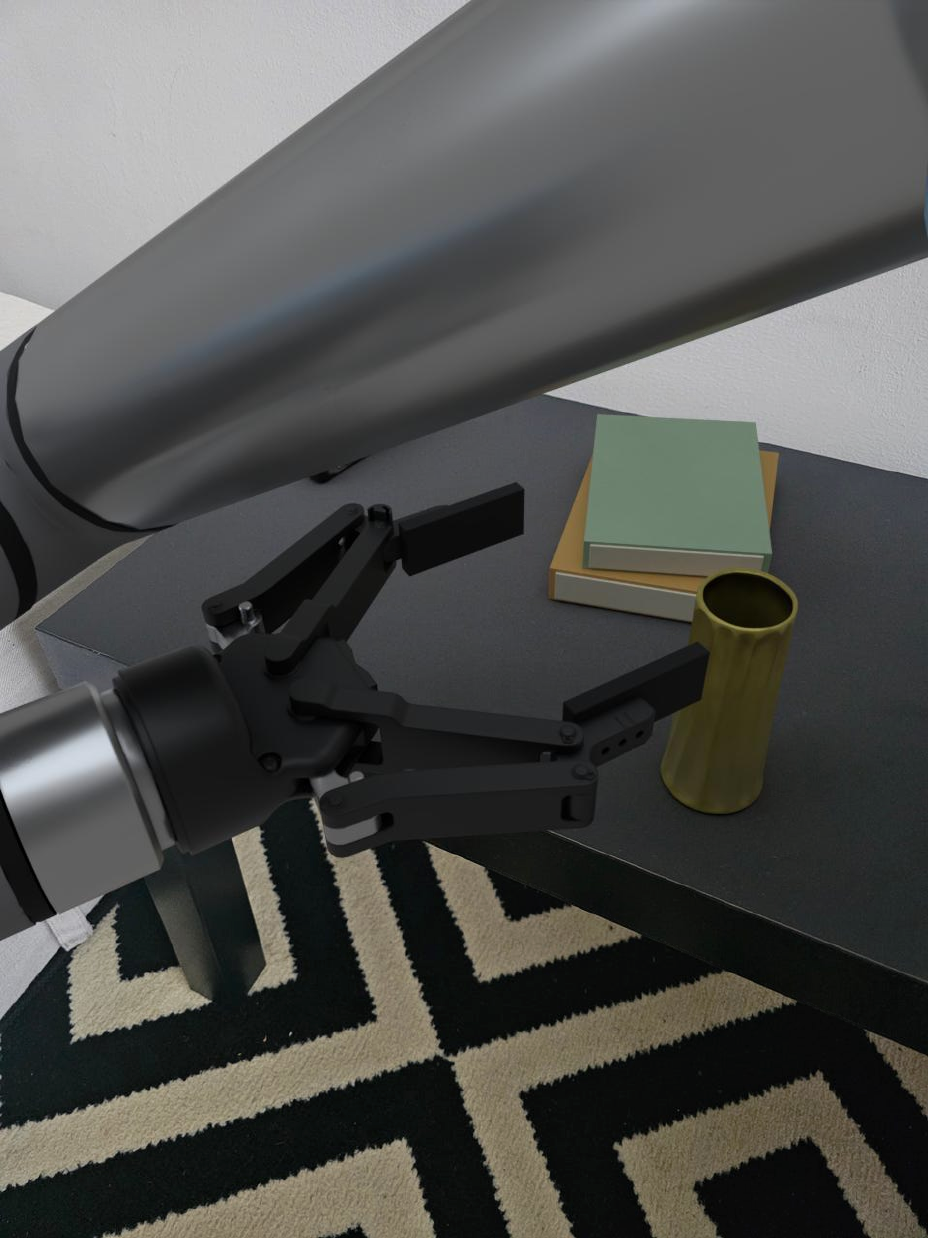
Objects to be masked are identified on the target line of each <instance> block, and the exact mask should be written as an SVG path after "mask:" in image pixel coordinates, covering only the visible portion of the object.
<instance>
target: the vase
mask: <svg viewBox="0 0 928 1238" xmlns="http://www.w3.org/2000/svg"><path fill="white" fill-rule="evenodd" d="M798 611H799V600H798V598H797V596H796V594H795V592H794V591H793V590H792V589H791V588H790V587H789V586H788V585H787V584H786V583H784V582H783V581H782V580H781V579H779V578H777V577H776V576H774V575H772V574H770V573H769V572H768V573H765V572H762V571H758V570H753V569H745V568H730V569H724V570H720V571H717V572H715V573H713V574H711V575H710V576H708V577H707V578H706V579H704V580H703V581H702V582H701V583H700V585H699V587H698V589H697V595H696V599H695V605H694V613H693V620H692V623H691V625H690V632H689V638H688V643H687V644H688V645H690V644H693V643H695V642H697V641H698V642H699V643H700V644H701V645H703V646H704V647H705V648H706V649H707V650H708V651H709V652H710V655H709V661H708V666H707V671H706V677H705V682H704V688H703V693H702V698H701V700H700V701H698V702H696V703H694V704H692V705H689V706H687V707H685V708H683V709H681V710H679V711H677V712H675V713H673V714H672V717H671V723H670V729H669V734H668V737H667V742H666V748H665V751H664V754H663V757H662V759H661V764H660V774H661V778H662V781H663V783H664V785H665V786H666V788H667V790H668V791H669V792H670V794H671V795H672V796H673V797H674V798H675V799H676V800H677V801H679V803H681V804H683V805H684V806H686V807H689V808H691V810H692V809H693V810H695V811H698V812H701V813H705V814H710V815H728V814H732V813H736V812H737V813H738V812H739V811H742V810H744V809H746V808H748V807H749V806H751V805H752V804H754V802H755V801H756V800H757V799H758V797H759V795H760V794H761V791H762V788H763V784H764V779H763V778H764V770H765V766H766V761H767V755H768V750H769V743H770V737H771V731H772V725H773V720H774V715H775V711H776V707H777V702H778V698H779V693H780V690H781V684H782V680H783V676H784V672H785V668H786V663H787V658H788V654H789V651H790V646H791V642H792V637H793V632H794V626H795V622H796V621H797V620H796V619H797V616H798V615H797V614H798ZM688 645H687V646H688Z"/></svg>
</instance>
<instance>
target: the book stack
mask: <svg viewBox="0 0 928 1238" xmlns="http://www.w3.org/2000/svg"><path fill="white" fill-rule="evenodd" d="M756 423H757V422H755V421H741V420H720V419H699V418H684V417H683V418H682V417H681V418H680V417H662V416H641V415H625V414H624V415H622V414H620V415H619V414H602V413H597V414H596V422H595V432H594V442H593V448H592V449H593V451H592V455H591V457H590V460H589V462H588V466H587V468H586V471H585V474H584V476H583V478H582V482H581V484H580V486H579V489H578V491H577V495H576V497H575V500H574V502H573V504H572V508H571V510H570V513H569V516H568V518H567V520H566V523H565V526H564V529H563V531H562V534H561V537H560V539H559V542H558V545H557V547H556V550H555V552H554V555H553V558H552V560H551V563H550V566H549V569H548V570H549V571H548V572H549V573H548V574H549V575H548V599H549V600H552V601H553V600H554V601H559V602H565V603H570V604H576V605H584V606H589V607H595V608H599V609H601V608H602V609H606V610H614V611H620V612H626V613H631V614H637V615H642V616H649V617H655V618H661V619H666V620H673V621H678V622H685V623H691V624H692V620H693V613H694V605H695V599H696V595H697V589H698V587H699V585H700V583H701V582H702V581H703V580H704V579H706V578H707V577H708V576H710V575H711V574H713V573H715V572H717V571H720V570H724V569H730V568H745V569H753V570H758V571H762V572H765V573H768V574H769V571H770V566H771V562H772V557H773V548H772V541H771V531H770V530H771V524H772V515H773V508H774V499H775V491H776V482H777V476H778V475H777V474H778V466H779V457H780V453H779V452H777V451H766V450H760V446H759V438H758V430H757V424H756Z"/></svg>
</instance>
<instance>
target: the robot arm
mask: <svg viewBox="0 0 928 1238" xmlns="http://www.w3.org/2000/svg"><path fill="white" fill-rule="evenodd" d="M925 259H928V0H468V2H466V3H465V4H463V5H462V6H461V7H460V8H458V9H457V10H455V11H454V12H453V13H452V14H450V15H449V16H447V17H446V18H445V19H444V20H442V21H441V22H440V23H438V24H437V25H436V26H434V27H433V28H432V29H430V30H429V31H427V32H426V33H425V34H423V35H422V36H421V37H419V38H418V39H417V40H416V41H414V42H413V43H412V44H410V45H408V46H407V47H406V48H405V49H403V50H402V51H400V52H399V53H398V54H397V55H396V56H394V57H393V58H391V59H390V60H388V61H387V62H386V63H385V64H383V65H382V66H381V67H379V68H378V69H376V70H375V71H373V72H372V73H370V75H369V76H367V77H366V78H364V79H363V80H362V81H360V82H359V83H357V85H355V86H353V87H352V88H351V89H350V90H348V91H347V92H346V93H344V94H343V95H342V96H341V97H339V98H338V99H336V100H335V101H334V102H332V103H331V104H330V105H328V106H327V107H326V108H324V109H323V110H321V111H320V112H319V113H317V114H316V115H315V116H314V117H312V118H311V119H309V120H308V121H306V122H305V123H304V124H303V125H301V126H299V128H297V129H296V130H295V131H294V132H292V133H291V134H290V135H288V136H287V137H285V138H284V139H282V140H281V141H280V142H279V143H278V144H276V145H275V146H273V147H272V148H270V149H269V150H268V151H267V152H265V153H264V154H262V156H260V157H259V158H257V159H256V160H255V161H253V162H252V163H251V164H249V165H248V166H246V167H245V168H244V169H243V170H242V171H240V172H239V173H238V174H236V175H235V176H233V177H232V178H231V179H229V180H228V181H227V182H225V183H224V184H223V185H221V186H220V187H219V188H217V189H215V191H213V192H212V193H211V194H209V195H208V196H207V197H205V198H204V199H202V200H201V201H199V202H198V203H197V204H196V205H195V206H193V207H192V208H190V209H189V210H187V211H186V212H185V213H184V214H182V215H181V216H180V217H179V218H177V219H175V220H174V221H173V222H172V223H170V224H169V225H168V226H166V227H165V228H164V229H162V230H161V231H160V232H158V233H157V234H155V235H154V236H153V237H151V239H148V241H146V242H145V243H144V244H142V245H141V246H139V248H137V249H136V250H134V251H133V252H131V253H130V254H128V256H126V257H125V258H123V259H122V260H121V261H120V262H118V263H117V264H115V265H114V266H113V267H112V268H110V269H109V270H108V271H106V272H104V274H102V275H100V276H99V277H98V278H97V279H96V280H94V281H93V282H91V283H90V284H89V285H87V286H86V287H85V288H83V289H82V290H81V291H79V292H78V293H77V294H75V295H74V296H73V297H72V298H70V299H69V300H67V301H66V302H64V303H63V304H62V305H61V306H59V307H58V308H57V309H55V310H54V311H53V312H51V313H50V314H49V315H47V316H46V317H45V318H43V319H42V320H41V321H40V322H37V324H35V325H34V326H32V327H31V328H29V329H28V330H26V331H25V332H24V333H22V334H21V335H19V336H18V337H17V338H16V339H14V340H13V341H12V342H10V343H9V344H8V345H6V346H5V347H4V348H2V349H1V350H0V632H1V631H2V630H3V629H5V628H6V627H7V626H9V625H11V624H13V623H14V622H15V621H16V620H18V619H20V618H21V617H22V616H23V615H25V614H26V613H27V612H29V611H30V610H31V609H32V608H33V607H34V605H36V604H37V603H39V602H40V601H42V600H43V599H45V598H46V597H47V596H49V595H50V594H51V593H53V592H55V591H56V590H57V589H59V588H61V587H62V586H63V585H65V584H66V583H68V582H69V581H70V580H71V579H73V578H75V577H76V576H78V575H79V574H81V573H82V572H83V571H84V570H86V569H87V568H89V567H90V566H93V564H95V563H96V562H97V561H99V560H100V559H103V557H105V556H107V555H108V554H110V553H112V552H113V551H114V550H116V549H118V548H120V547H122V546H124V545H126V544H129V543H133V542H135V541H137V540H140V539H143V538H146V537H148V536H149V537H150V536H152V535H154V534H157V533H159V532H161V531H164V530H167V529H169V528H173V527H174V526H177V525H178V524H180V523H183V522H185V521H188V520H192V519H194V518H197V517H200V516H203V515H205V514H208V513H211V512H214V511H218V510H220V509H222V508H225V507H228V506H231V505H233V504H237V503H239V502H241V501H245V500H248V499H250V498H253V497H256V496H259V495H262V494H265V493H268V492H270V491H274V490H276V489H279V488H282V487H284V486H288V485H290V484H293V483H296V482H298V481H299V482H300V481H301V480H304V479H307V478H310V476H313V475H316V474H319V473H321V472H324V471H327V470H330V469H333V468H335V467H338V466H341V465H344V464H347V463H350V462H352V461H355V460H358V459H359V460H362V459H363V458H367V457H369V456H372V455H375V454H377V453H381V452H383V451H386V450H389V449H392V448H395V447H397V446H400V445H403V444H406V443H408V442H411V441H414V440H417V439H421V438H423V437H426V436H428V435H431V434H434V433H436V432H440V431H442V430H446V429H448V428H451V427H454V426H457V425H460V424H462V423H465V422H468V421H471V420H474V419H476V418H479V417H482V416H485V415H487V414H491V413H493V412H496V411H499V410H501V409H504V408H507V407H511V406H513V405H515V404H519V403H522V402H525V401H527V400H531V399H533V398H535V397H539V396H541V395H544V394H547V393H549V392H552V391H555V390H558V389H560V388H564V387H567V386H570V385H572V384H574V383H575V384H576V383H578V382H581V381H584V380H586V379H590V378H592V377H595V376H597V375H601V374H603V373H606V372H609V371H612V370H615V369H617V368H620V367H623V366H626V365H629V364H632V363H634V362H637V361H640V360H643V359H645V358H646V359H647V358H648V357H649V358H650V357H652V356H654V355H657V354H660V353H662V352H665V351H667V350H671V349H675V348H676V347H680V346H682V345H684V344H685V345H686V344H687V343H690V342H694V341H696V340H700V339H702V338H705V337H708V336H710V335H713V334H715V333H716V334H717V333H718V332H721V331H725V330H728V329H731V328H733V327H736V326H738V325H741V324H745V323H747V322H750V321H752V320H753V321H754V320H756V319H759V318H761V317H764V316H767V315H770V314H772V313H776V312H778V311H781V310H783V309H787V308H790V307H792V306H795V305H798V304H801V303H804V302H806V301H809V300H813V299H814V298H815V299H816V298H818V297H820V296H824V295H826V294H829V293H832V292H835V291H837V290H840V289H843V288H846V287H848V286H852V285H855V284H857V283H861V282H863V281H865V280H869V279H872V278H874V277H878V276H880V275H882V274H885V273H888V272H891V271H894V270H897V269H899V268H903V267H905V266H908V265H910V264H913V263H916V262H919V261H922V260H925ZM359 460H358V461H359ZM525 491H526V490H525V488H524V487H523V486H522V485H520V483H518V482H517V481H515V482H512V483H509V484H505V485H502V486H501V487H497V488H495V489H492V490H489V491H486V492H483V493H481V494H477V495H474V496H472V497H468V498H466V499H463V500H460V501H457V502H455V503H451V504H449V505H448V504H441V505H435V506H431V507H428V508H426V509H423V510H420V511H418V512H414V513H412V514H411V513H410V514H409V515H406V516H402V517H400V518H397V519H394V518H393V517H394V515H393V509H392V507H391V506H390V505H388V504H385V503H375V504H372V505H370V506H369V507H367V509H366V510H367V515H366V514H365V513H366V512H365V508H364V506H363V505H362V504H360V503H356V502H349V503H346V504H344V505H342V506H340V507H339V508H338V509H337V510H335V511H334V512H333V513H331V514H330V515H328V517H326V518H325V519H324V520H323V521H321V522H320V523H319V524H317V525H316V526H314V527H313V528H312V529H311V530H310V531H308V532H307V533H306V534H304V535H303V536H302V537H301V538H299V539H298V540H297V541H296V542H294V543H293V544H292V545H290V546H289V547H288V548H287V549H285V550H284V551H283V552H281V553H280V554H279V555H278V556H276V557H275V558H274V559H272V560H271V561H270V562H269V563H267V564H266V565H265V566H263V567H262V568H261V569H259V570H258V571H257V572H256V573H255V574H253V575H252V576H251V577H250V578H248V579H247V580H246V581H244V582H242V583H240V584H238V585H236V586H233V587H231V588H229V589H226V590H224V591H222V592H220V593H217V594H215V595H213V596H211V597H209V598H207V599H205V600H204V601H203V602H202V603H201V607H200V610H201V613H202V616H203V620H204V625H205V628H206V632H207V635H208V640H209V643H210V647H211V650H212V651H210V650H209V649H208V648H207V647H206V646H203V645H201V644H198V643H189V644H186V645H184V646H181V647H177V648H175V649H172V650H170V651H168V652H164V653H162V654H159V655H156V656H153V657H151V658H148V659H145V660H143V661H140V662H137V663H135V664H131V665H128V666H126V667H123V668H121V669H118V670H117V675H118V676H117V675H116V676H115V677H113V678H112V680H111V681H112V682H111V683H112V688H109V689H107V690H105V691H102V692H100V693H99V690H98V688H97V687H96V685H95V684H93V683H91V682H89V681H87V680H84V681H82V682H79V683H76V684H73V685H71V686H68V687H65V688H63V689H60V690H58V691H55V692H53V693H50V694H47V695H45V696H42V697H39V698H37V699H34V700H32V701H28V702H26V703H24V704H21V705H19V706H15V707H14V708H11V709H7V710H6V711H3V712H0V942H1V941H4V940H6V939H8V938H10V937H12V936H15V935H18V934H19V933H22V932H23V931H26V930H28V929H31V928H33V927H34V926H36V925H37V923H42V922H44V921H46V920H49V919H52V918H54V917H55V916H57V915H58V914H59V915H61V914H63V913H66V912H68V911H70V910H72V909H75V908H77V907H80V906H82V905H84V904H86V903H89V902H90V901H93V900H95V899H97V898H100V897H101V896H104V895H106V894H109V893H111V892H113V891H116V890H117V889H119V888H122V887H124V886H126V885H129V884H131V883H132V882H135V881H138V880H139V879H143V878H144V877H147V876H149V875H152V874H153V873H156V872H157V871H160V870H162V866H163V864H164V861H165V857H164V853H163V851H165V850H166V849H168V848H171V847H173V846H175V845H176V847H177V848H178V850H179V852H180V853H181V854H183V855H184V854H186V853H189V854H190V855H191V856H195V855H197V854H199V853H201V852H204V851H206V850H208V849H211V848H212V847H215V846H217V845H220V844H222V843H224V842H227V841H228V840H230V839H231V840H232V839H233V838H235V837H237V836H240V835H241V834H244V833H246V832H249V831H251V830H253V829H256V828H258V827H260V826H261V825H263V824H265V823H266V822H267V820H268V819H269V818H270V817H271V815H272V814H273V813H274V812H275V811H276V810H277V809H278V808H280V806H283V804H286V803H287V802H290V801H294V800H300V799H313V800H314V802H315V804H316V807H317V810H318V812H319V815H320V817H321V819H320V820H321V823H322V828H323V834H324V839H325V843H326V849H327V851H328V853H329V855H331V856H333V857H335V858H340V859H343V858H349V857H352V856H355V855H357V854H360V853H363V852H366V851H369V850H371V849H373V848H377V847H379V846H381V845H385V844H388V843H390V842H394V841H408V840H410V841H411V840H422V839H423V840H425V839H436V838H437V839H439V838H440V839H441V838H454V837H456V838H457V837H469V836H470V837H472V836H486V835H501V834H516V833H518V834H519V833H530V832H546V831H547V832H549V831H561V830H577V829H584V828H587V827H589V826H590V825H591V824H592V823H593V822H594V820H595V813H596V804H597V794H598V793H597V792H598V786H599V785H598V784H599V783H598V782H599V770H598V767H600V766H602V765H604V764H607V763H608V762H610V761H612V760H614V759H617V758H618V757H620V756H622V755H624V754H627V753H629V752H631V751H632V750H633V749H634V750H635V749H638V748H639V747H641V746H643V745H645V744H646V743H647V742H648V741H649V740H650V739H651V738H652V736H653V733H654V725H655V723H657V722H658V721H660V720H663V719H665V718H666V717H669V716H671V715H673V713H675V712H677V711H679V710H681V709H683V708H685V707H687V706H689V705H692V704H694V703H696V702H698V701H700V700H701V698H702V693H703V688H704V682H705V677H706V671H707V666H708V661H709V655H710V652H709V651H708V650H707V649H706V648H705V647H704V646H703V645H701V644H700V643H699V642H698V641H697V642H695V643H693V644H690V645H686V646H684V647H681V648H679V649H677V650H675V651H673V652H671V653H668V654H666V655H664V656H662V657H660V658H657V659H656V660H653V661H651V662H649V663H647V664H644V665H641V666H640V667H638V668H636V669H633V670H631V671H629V672H626V673H624V674H622V675H619V676H618V677H615V678H613V679H611V680H609V681H607V682H605V683H602V684H600V685H598V686H595V687H594V688H591V689H589V690H587V691H584V692H583V693H580V694H578V695H576V696H573V697H572V698H569V699H567V700H564V701H562V716H561V720H558V719H550V718H549V719H548V718H539V717H532V716H531V717H530V716H521V715H514V714H504V713H496V712H488V711H478V710H470V709H461V708H453V707H444V706H443V707H442V706H435V705H426V704H419V703H418V704H417V703H411V702H408V701H407V700H406V699H405V698H404V697H403V696H402V695H400V694H399V693H397V692H391V691H384V690H383V691H382V690H379V687H378V683H377V681H376V680H375V679H374V678H373V676H372V675H371V674H370V672H369V671H367V669H365V668H363V667H362V666H361V665H359V664H358V663H357V662H356V659H355V656H354V653H353V649H352V647H351V646H350V645H349V644H348V641H349V640H350V638H351V636H352V635H353V633H354V632H355V631H356V629H357V627H358V626H359V624H360V623H361V621H362V619H363V618H364V616H365V615H366V614H367V612H368V610H369V609H370V607H371V606H372V604H373V603H374V601H375V600H376V598H377V597H378V595H379V593H380V592H381V590H382V589H383V587H384V586H385V585H386V583H387V581H388V580H389V578H390V577H391V575H392V574H393V572H394V571H395V569H396V567H397V566H398V565H397V564H398V563H397V561H399V560H400V561H401V569H402V570H403V571H404V573H405V574H406V575H407V576H408V577H409V578H410V577H412V576H415V575H419V574H420V573H424V572H426V571H429V570H431V569H434V568H438V567H439V566H442V565H444V564H445V565H446V564H448V563H450V562H453V561H455V560H458V559H460V558H463V557H466V556H469V555H472V554H474V553H477V552H481V551H482V550H485V549H488V548H490V547H493V546H495V545H498V544H501V543H503V542H506V541H509V540H512V539H514V538H515V539H516V538H518V537H519V536H523V535H525ZM341 540H342V541H341ZM340 541H341V543H340ZM283 625H284V627H283V628H282V630H281V631H279V632H277V633H274V632H276V631H277V630H278V629H279V628H281V627H282V626H283ZM212 652H213V653H214V654H213V653H212ZM378 730H379V737H380V741H375V740H373V739H374V737H375V736H376V735H377V733H378ZM548 753H549V754H548ZM364 773H370V774H374V775H370V776H367V777H365V774H364Z"/></svg>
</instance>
